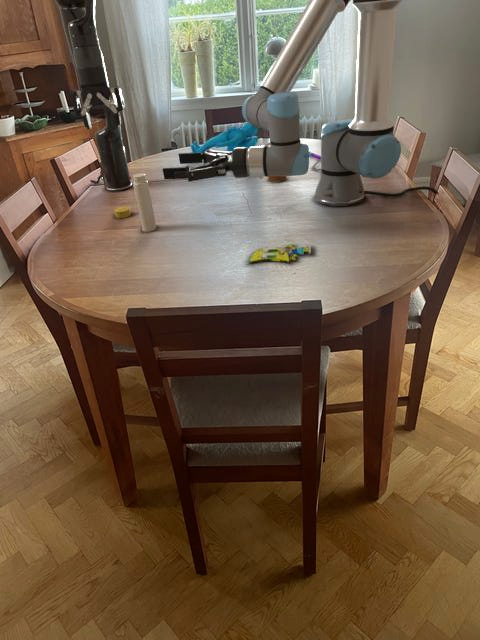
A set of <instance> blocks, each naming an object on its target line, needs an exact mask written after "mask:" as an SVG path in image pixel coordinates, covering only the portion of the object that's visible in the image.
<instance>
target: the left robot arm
mask: <svg viewBox="0 0 480 640" xmlns="http://www.w3.org/2000/svg"><path fill="white" fill-rule="evenodd" d="M54 2H55V4H56V5H57V7H58V9H59V12H60V13H59V14H60V17H61V22H62V26H63V30H64V34H65V38H66V41H67V42H66V43H67V45H68V49H69V51H70V56H71V59H72V63H73V67H74V70H75V75H76V80H77V85H78V89H73V90H71V91H70V97H71V101H72V108H73V112H74V114H77V115H80V116H81V117H82V121H83V125H84V127H85V128H86V129H87V130H91V129H92V128H93V126H92V125H93V124H92V122H91V121H101V120H106V124H105V126H104V127H103V128H100V129H98V130H97V131H95V132H94V139H95V143H96V147H97V153H98V156H99V160H100V162H99V163H98V164H99V168H100V171H99V176H98V177H97V180H93V179H90V180H89V182H90V183H93V184H99V183H100V181H101V180H102V182H103V185H104V189H106V190H107V191H111V192H120V191H124V190H127V189H130V188H132V187H133V182H132V177H131V175H130V170H129V169H130V168H129V165H128V160H127V155H126V149H125V144H124V141H123V134H122V127H121V125H122V117H121V112H122V111H124V110H125V109H126V104H125V100H124V96H123V95H124V94H123V91H122V88H121V86H116V87H110V85H109V80H108V76H107V75H108V74H107V71H106V65H105V59H104V56H103V52H102V48H101V46H100V41H99V37H98V31H97V26H96V0H54Z"/></svg>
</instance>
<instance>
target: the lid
mask: <svg viewBox="0 0 480 640" xmlns="http://www.w3.org/2000/svg"><path fill="white" fill-rule="evenodd" d="M113 212H114V216H115V218H117V219H125V218H128V217H130V216H131V215H132V212H131V208H130V206H125V205H124V206H118V207H116V208H114V210H113Z"/></svg>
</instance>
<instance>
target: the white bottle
mask: <svg viewBox="0 0 480 640" xmlns="http://www.w3.org/2000/svg"><path fill="white" fill-rule="evenodd" d="M132 180H133V182H132V187H133V191H134V197H135V201H136V206H137V211H138V216H139V221H140V226H141V230H142V232H144V233H149V232H150V233H151V232H153V231H155V230H156V229H157V223H156V219H155V213H154V207H153V202H152V196H151V191H150V185H149V181H148V180H147V175H146V173H141V172H140V173H135V174H133V175H132Z"/></svg>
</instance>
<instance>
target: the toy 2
mask: <svg viewBox="0 0 480 640" xmlns="http://www.w3.org/2000/svg"><path fill="white" fill-rule="evenodd" d="M287 249H288V250H287ZM305 254H308V255H309V256H311V255H312V244H309V245H308V247H305V246H304V245H303V246H302V247H299V248H297V247H295V245H294V244H290V245H288V244H287V245H286V246H285V248H283V247H278V246H265V247H262V248H260V249H257V250H255V252H254V253H253V254H252V255H251V257H250V259H249V262H248V264H249V265H251V264H254V263H260V262H269V261H270V262H282V263H288V264H291V261H292V262H296V261H297V258H298V256H304V255H305Z"/></svg>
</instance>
